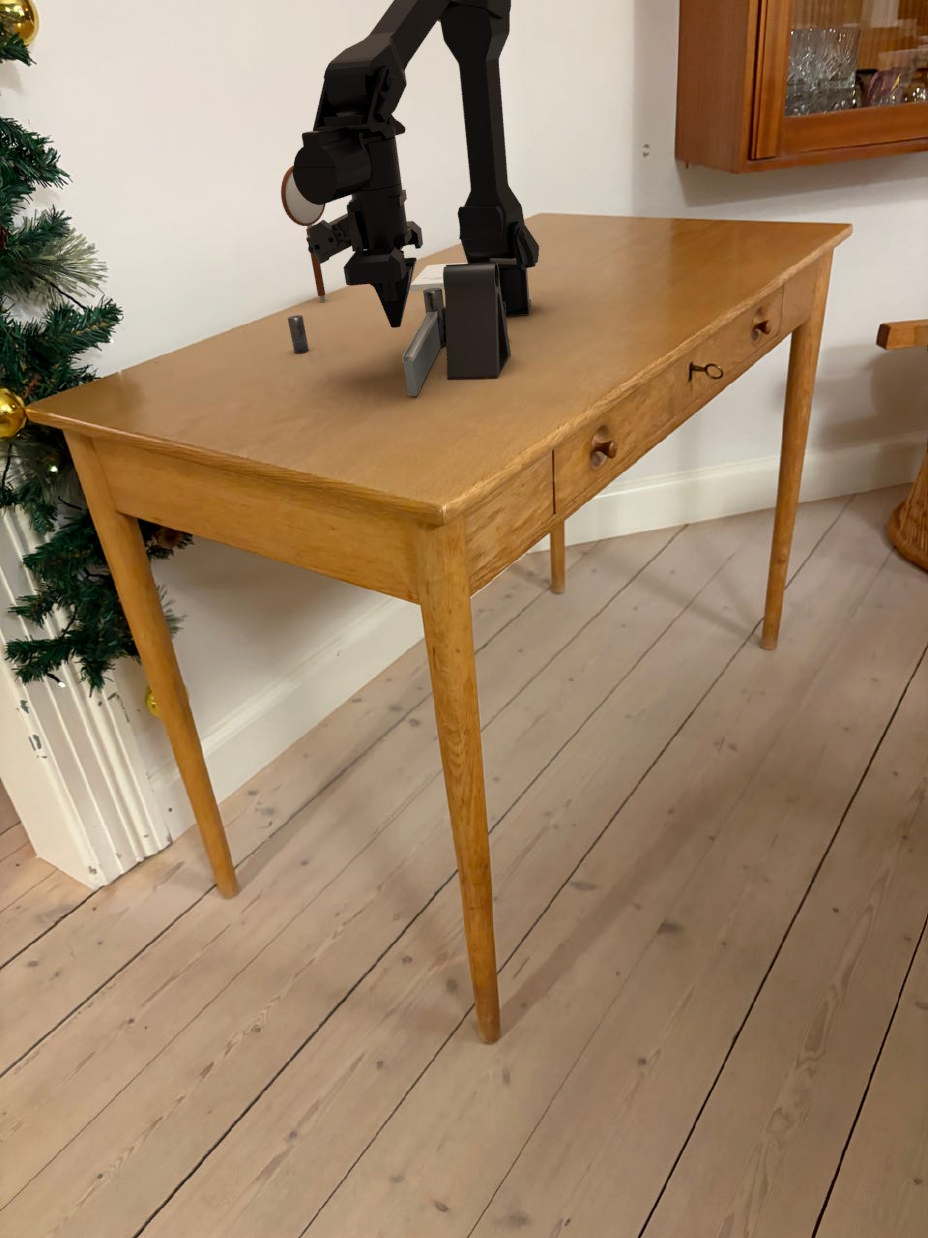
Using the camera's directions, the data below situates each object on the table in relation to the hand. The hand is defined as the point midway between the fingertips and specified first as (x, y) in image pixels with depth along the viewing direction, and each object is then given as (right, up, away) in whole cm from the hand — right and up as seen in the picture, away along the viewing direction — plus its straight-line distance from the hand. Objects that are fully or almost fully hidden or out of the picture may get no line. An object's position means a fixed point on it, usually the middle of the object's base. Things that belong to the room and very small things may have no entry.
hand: (396, 326), depth 117 cm
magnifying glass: (-14, +15, +37) cm, 43 cm away
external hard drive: (+5, +19, +42) cm, 47 cm away
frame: (-1, +1, +12) cm, 12 cm away
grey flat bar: (+3, -5, +1) cm, 6 cm away
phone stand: (+10, -5, +1) cm, 11 cm away
